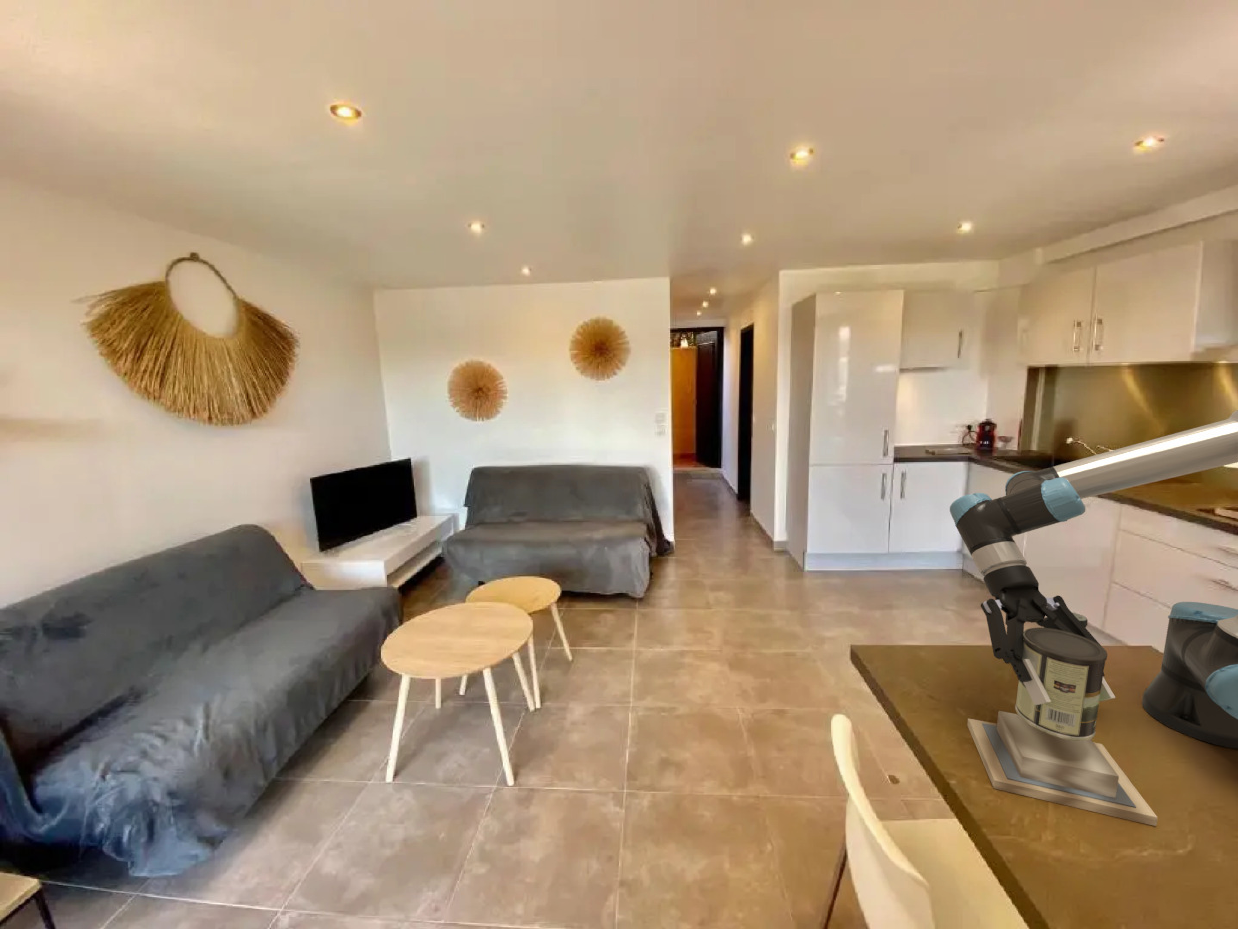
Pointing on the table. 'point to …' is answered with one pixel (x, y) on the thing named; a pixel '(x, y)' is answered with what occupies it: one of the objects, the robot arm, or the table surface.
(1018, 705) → the coffee can
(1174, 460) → the robot arm
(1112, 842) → the table surface
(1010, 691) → the table surface
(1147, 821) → the plate
